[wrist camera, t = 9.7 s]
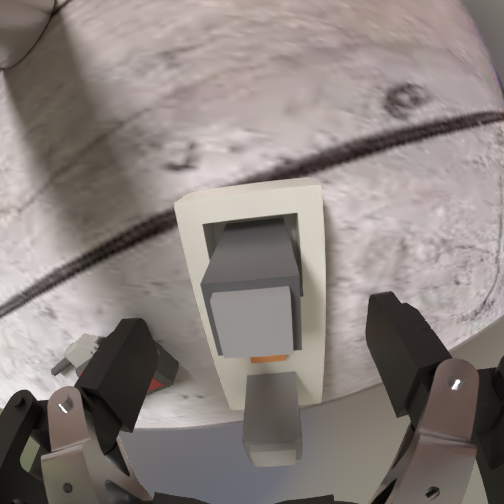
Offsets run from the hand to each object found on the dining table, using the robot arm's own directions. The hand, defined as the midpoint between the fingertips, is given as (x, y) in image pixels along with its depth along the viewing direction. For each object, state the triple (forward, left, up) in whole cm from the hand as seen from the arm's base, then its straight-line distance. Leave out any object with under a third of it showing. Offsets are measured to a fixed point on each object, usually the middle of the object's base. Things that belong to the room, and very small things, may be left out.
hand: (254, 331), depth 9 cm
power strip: (+5, 0, -10) cm, 12 cm away
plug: (0, 0, -9) cm, 9 cm away
